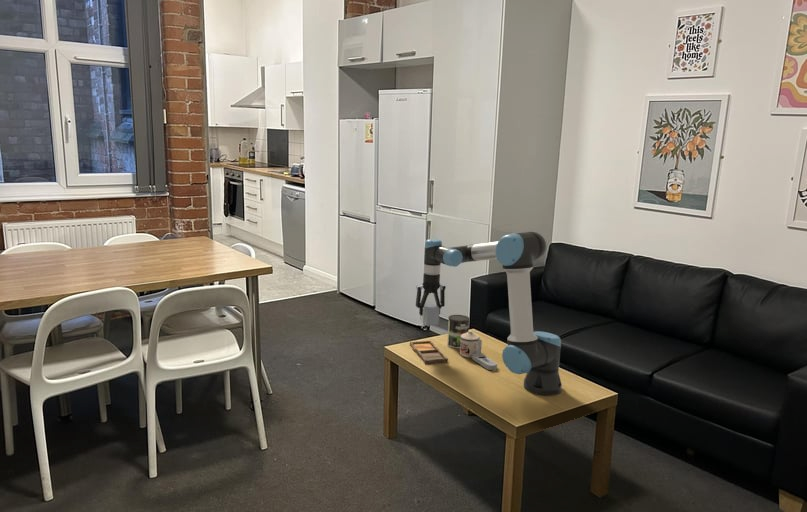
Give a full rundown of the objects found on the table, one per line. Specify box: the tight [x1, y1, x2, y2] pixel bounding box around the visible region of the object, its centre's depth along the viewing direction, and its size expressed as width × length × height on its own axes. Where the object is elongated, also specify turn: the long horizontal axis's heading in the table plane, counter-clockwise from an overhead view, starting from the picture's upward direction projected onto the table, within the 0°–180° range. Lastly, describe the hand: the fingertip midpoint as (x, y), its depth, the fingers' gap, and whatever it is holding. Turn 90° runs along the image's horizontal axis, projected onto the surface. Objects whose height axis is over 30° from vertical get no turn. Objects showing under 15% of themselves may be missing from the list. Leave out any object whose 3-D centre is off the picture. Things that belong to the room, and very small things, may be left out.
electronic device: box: [471, 339, 498, 371], centre depth 253 cm, size 5×10×15 cm
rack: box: [409, 340, 449, 365], centre depth 265 cm, size 24×11×2 cm, turn 16°
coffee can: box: [446, 314, 470, 350], centre depth 276 cm, size 10×10×14 cm
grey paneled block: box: [419, 302, 441, 326], centre depth 261 cm, size 9×6×8 cm, turn 17°
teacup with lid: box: [459, 330, 481, 359], centre depth 263 cm, size 12×9×12 cm
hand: (429, 321), depth 262 cm, fingers closed on grey paneled block, 6 cm apart
